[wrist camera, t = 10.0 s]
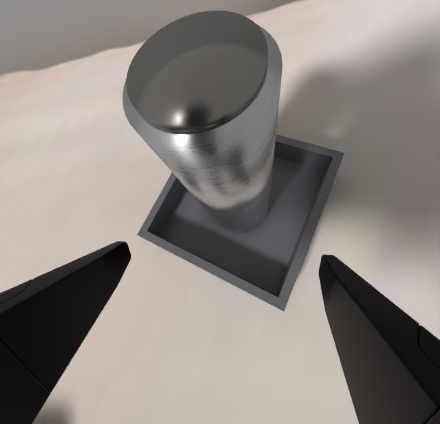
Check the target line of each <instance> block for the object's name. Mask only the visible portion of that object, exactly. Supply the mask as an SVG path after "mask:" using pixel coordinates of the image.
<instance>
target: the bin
mask: <svg viewBox="0 0 440 424" xmlns="http://www.w3.org/2000/svg"><path fill="white" fill-rule="evenodd" d="M343 155H344V153H342V152H338V151H335V150H331V149H327V148H324V147H320V146H316V145H313V144H309V143H305V142H301V141H298V140H294V139H290V138H287V137H283V136H279V135H276V138H275V148H274V158H273V169H272V179H271V189H270V199H269V209H268V213H267V216H266V218H265V220H264V221H263V223H262V224H261V225H260V226H259V227H257V228H256V229H254V230H252V231H250V232H247V233H232V232H229V231H227V230H225V229H223V228H222V227H221V226H220V225H218V223H217V222H216V221H215V220H214V219H213V218H212V217H211V215H210V214H209V213H208V212H207V211H206V210H205V209H204V208H203V206H202V205H201V204H200V203H199V202H198V201H197V200H196V198H195V197H194V196H193V195H192V194H191V193H190V192H189V191H188V189H187V188H186V187H185V186H184V185H183V184H182V183H181V181H180V180H179V179H178V178H177V177H176V176H175V175H174V174H173V172H172V174H171V175H170V177H169V179H168V181H167V183H166V184H165V186H164V188H163V190H162V191H161V193H160V195H159V197H158V199H157V200H156V202H155V204H154V206H153V208H152V209H151V211H150V213H149V215H148V217H147V218H146V220H145V222H144V224H143V226H142V227H141V229H140V231H139V233H138V234H137V235H139V236H140V237H142V238H144V239H146V240H148V241H150V242H152V243H154V244H156V245H158V246H160V247H162V248H163V249H165V250H167V251H169V252H171V253H173V254H175V255H177V256H179V257H181V258H183V259H185V260H186V261H188V262H190V263H192V264H194V265H196V266H198V267H200V268H202V269H204V270H206V271H208V272H209V273H211V274H213V275H215V276H217V277H219V278H221V279H223V280H225V281H227V282H229V283H231V284H232V285H234V286H236V287H238V288H240V289H242V290H244V291H246V292H248V293H250V294H252V295H254V296H255V297H257V298H259V299H261V300H263V301H265V302H267V303H269V304H271V305H273V306H275V307H277V308H279V309H280V310H282V311H284V310H285V307H286V305H287V302H288V299H289V297H290V294H291V292H292V289H293V286H294V284H295V281H296V278H297V276H298V273H299V270H300V268H301V265H302V263H303V260H304V257H305V255H306V252H307V249H308V247H309V244H310V241H311V239H312V236H313V234H314V231H315V228H316V226H317V223H318V220H319V218H320V215H321V213H322V210H323V207H324V205H325V202H326V199H327V197H328V194H329V191H330V189H331V186H332V184H333V181H334V178H335V176H336V173H337V170H338V168H339V165H340V162H341V160H342V157H343Z"/></svg>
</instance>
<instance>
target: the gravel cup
mask: <svg viewBox="0 0 440 424" xmlns="http://www.w3.org/2000/svg"><path fill="white" fill-rule="evenodd" d="M281 76H282V57H281V53H280V50H279V47H278V45H277V43H276V41H275V40H274V39H273V37H272V36H271V35H270V34H269V33H268V32H267V31H266V30H265V29H263V28H262V27H260V26H258V25H257V24H255V23H254V22H253V21H252V20H250V19H248V18H247V17H245V16H242V15H240V14H237V13H233V12H227V11H207V12H200V13H196V14H192V15H188V16H185V17H183V18H180V19H178V20H176V21H174V22H172V23H170V24H168V25H166V26H165V27H163V28H162V29H160V30H159V31H157V32H156V33H155V34H154V35H152V36H151V37H150V38H149V39H148V40H147V41H146V42H145V43H144V44H143V45H142V46H141V48H140V49H139V50H138V52H137V53H136V55H135V56H134V58H133V60H132V62H131V64H130V66H129V70H128V73H127V79H126V82H125V85H124V90H123V107H124V111H125V115H126V117H127V119H128V121H129V123H130V124H131V126H132V127H133V128H134V129H135V131H136V132H137V133H138V134H139V135H140V136H141V137H142V138H143V140H144V141H145V142H146V143H147V144H148V145H149V146H150V148H151V149H152V150H153V151H154V152H155V153H156V154H157V155H158V157H159V158H160V159H161V160H162V161H163V162H164V163H165V165H166V166H167V167H168V168H169V169H170V170H171V171H172V172H173V174H174V175H175V176H176V177H177V178H178V179H179V180H180V181H181V183H182V184H183V185H184V186H185V187H186V188H187V189H188V191H189V192H190V193H191V194H192V195H193V196H194V197H195V198H196V200H197V201H198V202H199V203H200V204H201V205H202V206H203V208H204V209H205V210H206V211H207V212H208V213H209V214H210V215H211V217H212V218H213V219H214V220H215V221H216V222H217V223H218V225H220V226H221V227H222V228H223V229H225V230H227V231H229V232H232V233H247V232H250V231H252V230H254V229H256V228H257V227H259V226H260V225H261V224H262V223H263V221H264V220H265V218H266V216H267V213H268V209H269V199H270V189H271V179H272V169H273V158H274V148H275V138H276V128H277V117H278V107H279V97H280V87H281Z"/></svg>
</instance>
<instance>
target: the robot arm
mask: <svg viewBox="0 0 440 424" xmlns="http://www.w3.org/2000/svg"><path fill="white" fill-rule="evenodd" d="M130 259H131V253H130V250H129V247H128V244H127V243H126V242H122V241H117V242H115V243H113V244H110V245H108V246H106V247H104V248H101V249H99V250H97V251H95V252H92V253H90V254H88V255H86V256H83V257H81V258H79V259H77V260H74V261H72V262H70V263H68V264H65V265H63V266H61V267H59V268H56V269H54V270H52V271H50V272H47V273H45V274H43V275H41V276H38V277H36V278H34V279H32V280H29V281H27V282H25V283H23V284H20V285H18V286H16V287H13V288H11V289H9V290H6V291H4V292H2V293H0V424H32V423H33V421H34V420H35V418H36V416H37V415H38V413H39V412H40V410H41V408H42V407H43V405H44V403H45V402H46V400H47V399H48V397H49V395H50V393H51V392H52V390H53V389H54V387H55V386H56V384H57V382H58V381H59V379H60V377H61V376H62V374H63V373H64V371H65V369H66V368H67V366H68V365H69V363H70V361H71V360H72V358H73V357H74V355H75V353H76V352H77V350H78V349H79V347H80V345H81V344H82V342H83V341H84V339H85V337H86V336H87V334H88V332H89V331H90V329H91V328H92V326H93V324H94V323H95V321H96V320H97V318H98V316H99V315H100V313H101V312H102V310H103V308H104V307H105V305H106V304H107V302H108V300H109V299H110V297H111V296H112V294H113V292H114V291H115V289H116V287H117V285H118V284H119V282H120V280H121V278H122V276H123V274H124V272H125V270H126V268H127V266H128V264H129V262H130ZM319 278H320V284H321V289H322V295H323V301H324V306H325V311H326V315H327V319H328V322H329V325H330V328H331V332H332V335H333V338H334V342H335V345H336V348H337V352H338V355H339V358H340V362H341V365H342V368H343V372H344V375H345V378H346V382H347V385H348V388H349V392H350V395H351V398H352V402H353V405H354V408H355V412H356V415H357V418H358V421H359V424H440V340H439V339H438V338H437V337H435V336H434V335H433V334H431V333H430V332H429V331H428V330H426V329H425V328H424V327H423V326H421V325H420V326H419V323H418V322H416V321H415V320H414V319H413V318H411V317H410V316H409V315H408V314H406V313H405V312H404V311H403V310H401V309H400V308H399V307H398V306H396V305H395V304H394V303H393V302H391V301H390V300H389V299H388V298H386V297H385V296H384V295H383V294H381V293H380V292H379V291H378V290H376V289H375V288H374V287H373V286H371V285H370V284H369V283H368V282H366V281H365V280H364V279H363V278H362V277H360V276H359V275H358V274H357V273H355V272H354V271H353V270H352V269H350V268H349V267H348V266H347V265H345V264H344V263H343V262H342V261H340V260H339V259H338V258H337V257H335V256H334V255H323V256H322V258H321V263H320V267H319Z"/></svg>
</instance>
